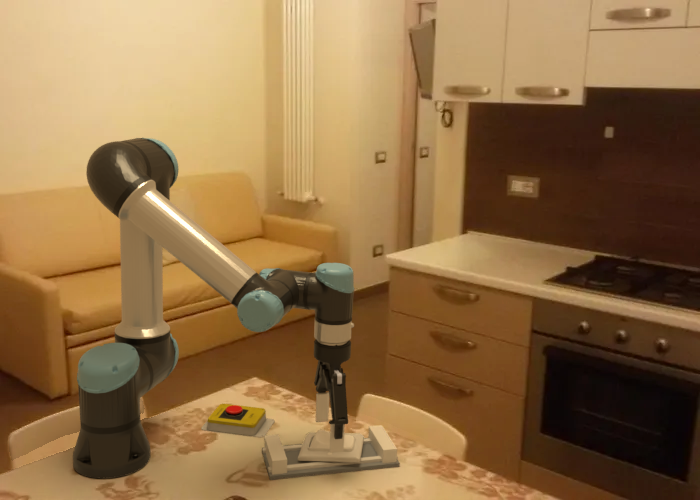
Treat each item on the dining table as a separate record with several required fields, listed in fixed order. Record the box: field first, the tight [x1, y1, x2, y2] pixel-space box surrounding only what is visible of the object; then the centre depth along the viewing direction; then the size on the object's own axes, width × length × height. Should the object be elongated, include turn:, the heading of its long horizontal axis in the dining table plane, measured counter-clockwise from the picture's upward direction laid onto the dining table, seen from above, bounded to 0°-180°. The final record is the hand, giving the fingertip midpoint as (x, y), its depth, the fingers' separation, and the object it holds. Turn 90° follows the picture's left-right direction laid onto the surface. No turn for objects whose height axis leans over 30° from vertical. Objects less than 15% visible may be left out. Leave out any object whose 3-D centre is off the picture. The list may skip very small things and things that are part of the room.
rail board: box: [261, 424, 400, 481], centre depth 156 cm, size 27×12×4 cm, turn 104°
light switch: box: [298, 428, 365, 462], centre depth 157 cm, size 11×4×13 cm
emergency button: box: [201, 403, 275, 438], centre depth 170 cm, size 9×4×15 cm
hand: (328, 435), depth 155 cm, fingers open, 13 cm apart
